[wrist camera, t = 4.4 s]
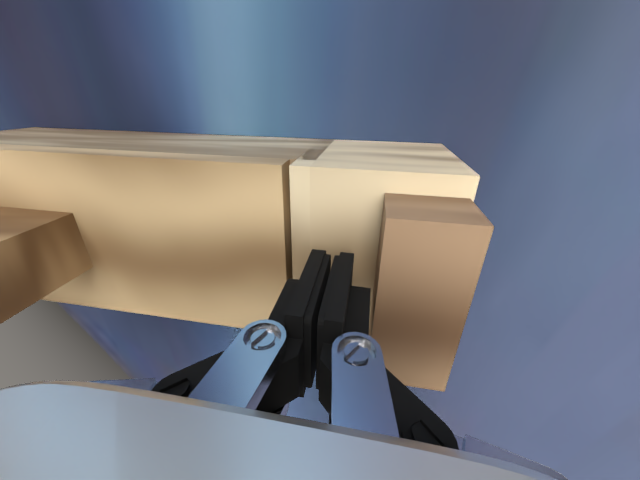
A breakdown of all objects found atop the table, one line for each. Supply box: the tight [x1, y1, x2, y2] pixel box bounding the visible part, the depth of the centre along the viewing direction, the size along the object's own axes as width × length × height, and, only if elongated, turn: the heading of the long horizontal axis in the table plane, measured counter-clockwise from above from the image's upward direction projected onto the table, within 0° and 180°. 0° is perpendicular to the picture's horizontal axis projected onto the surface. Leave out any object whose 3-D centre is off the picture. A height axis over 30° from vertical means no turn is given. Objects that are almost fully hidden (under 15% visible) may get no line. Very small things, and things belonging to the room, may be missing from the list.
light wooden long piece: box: [0, 127, 480, 324], centre depth 17 cm, size 9×27×7 cm, turn 89°
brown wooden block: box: [369, 193, 494, 392], centre depth 11 cm, size 7×3×2 cm, turn 179°
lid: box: [0, 144, 293, 328], centre depth 13 cm, size 9×19×7 cm, turn 89°
